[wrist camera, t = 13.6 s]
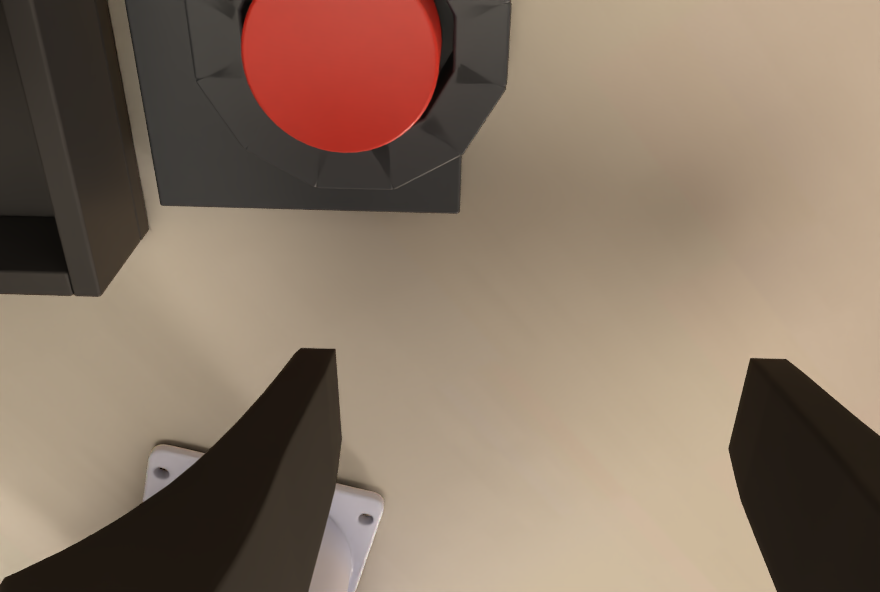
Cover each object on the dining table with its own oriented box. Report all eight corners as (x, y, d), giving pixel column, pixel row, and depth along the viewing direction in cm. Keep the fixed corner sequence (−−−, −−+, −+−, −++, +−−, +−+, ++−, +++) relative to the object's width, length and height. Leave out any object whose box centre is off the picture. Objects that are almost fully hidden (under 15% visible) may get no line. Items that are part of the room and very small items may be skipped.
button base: (494, 199, 23) (497, 252, 21) (171, 191, 23) (134, 242, 21) (517, -230, 18) (525, -231, 15) (100, -236, 18) (39, -239, 16)
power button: (440, 127, 19) (437, 156, 18) (267, 123, 20) (250, 151, 18) (443, -59, 17) (440, -44, 16) (249, -63, 17) (228, -48, 16)
